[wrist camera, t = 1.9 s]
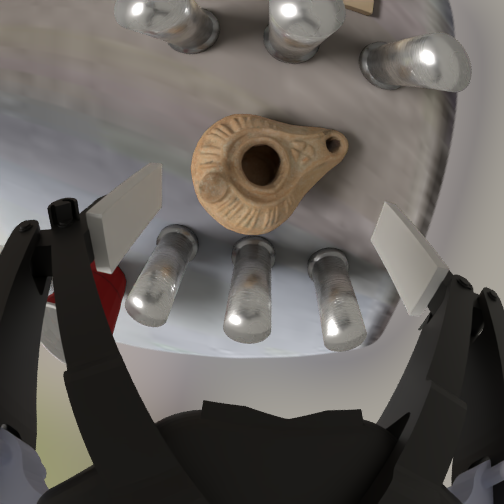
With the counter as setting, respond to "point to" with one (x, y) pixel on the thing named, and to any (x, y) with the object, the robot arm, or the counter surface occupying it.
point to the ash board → (360, 6)
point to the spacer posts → (254, 247)
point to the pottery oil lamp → (260, 169)
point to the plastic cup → (111, 298)
